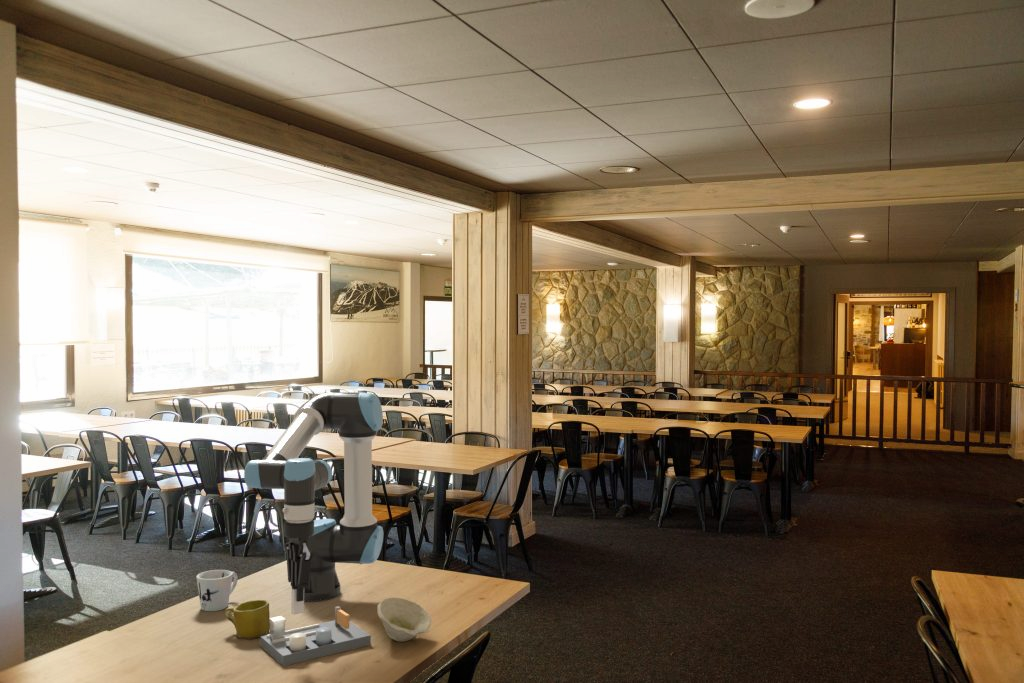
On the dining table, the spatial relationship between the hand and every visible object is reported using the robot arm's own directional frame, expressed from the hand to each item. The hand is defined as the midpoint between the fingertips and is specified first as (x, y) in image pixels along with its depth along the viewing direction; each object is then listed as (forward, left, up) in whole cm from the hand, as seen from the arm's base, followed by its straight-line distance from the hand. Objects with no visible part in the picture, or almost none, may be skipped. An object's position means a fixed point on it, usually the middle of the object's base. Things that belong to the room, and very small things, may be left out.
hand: (297, 612), depth 201 cm
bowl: (+5, +28, -12) cm, 31 cm away
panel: (-5, +7, -12) cm, 15 cm away
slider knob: (-9, -2, -9) cm, 13 cm away
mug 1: (-52, -4, -12) cm, 54 cm away
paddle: (-6, +15, -9) cm, 19 cm away
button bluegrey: (0, +7, -9) cm, 12 cm away
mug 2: (-24, -5, -12) cm, 27 cm away
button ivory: (0, 0, -9) cm, 9 cm away
